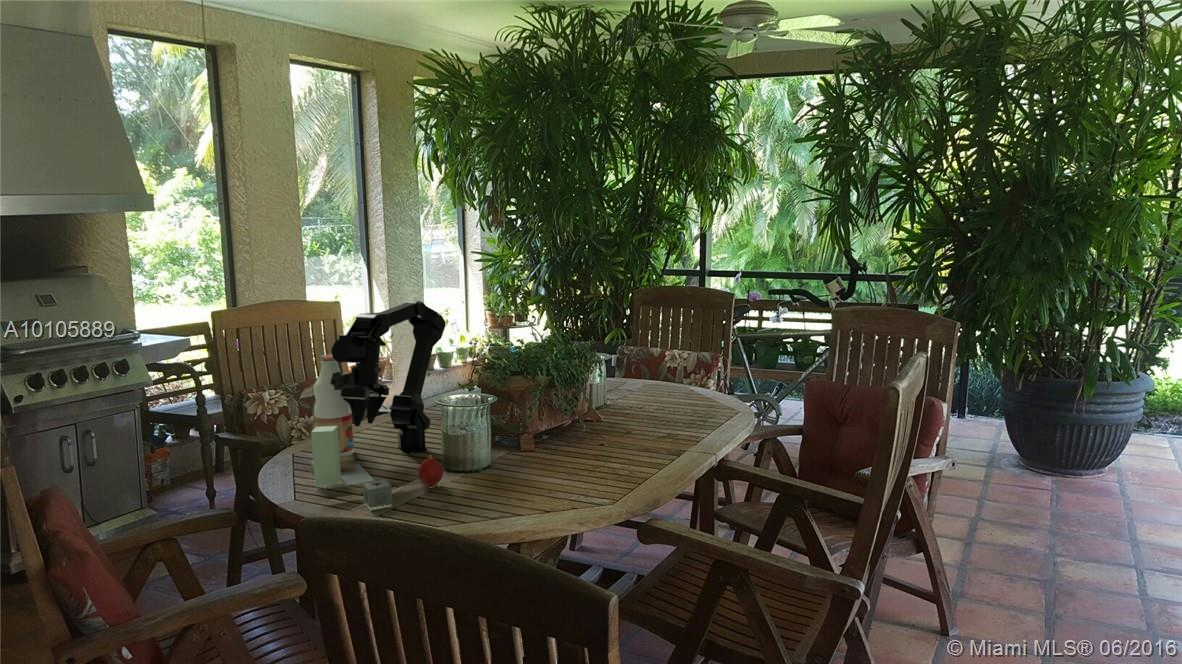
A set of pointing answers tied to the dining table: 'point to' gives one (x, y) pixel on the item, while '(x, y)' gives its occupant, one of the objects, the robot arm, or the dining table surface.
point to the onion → (430, 471)
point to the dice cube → (377, 493)
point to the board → (352, 478)
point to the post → (326, 455)
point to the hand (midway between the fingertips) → (363, 424)
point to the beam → (342, 464)
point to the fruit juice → (333, 406)
